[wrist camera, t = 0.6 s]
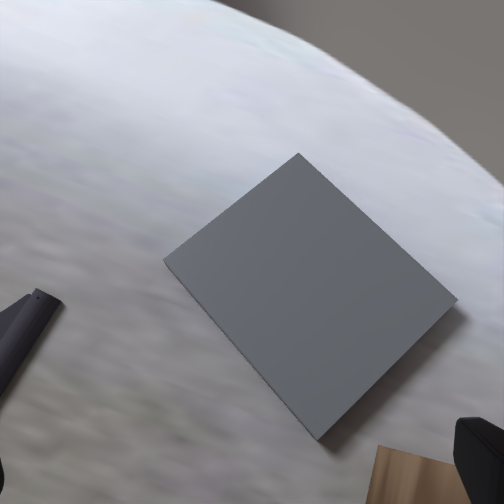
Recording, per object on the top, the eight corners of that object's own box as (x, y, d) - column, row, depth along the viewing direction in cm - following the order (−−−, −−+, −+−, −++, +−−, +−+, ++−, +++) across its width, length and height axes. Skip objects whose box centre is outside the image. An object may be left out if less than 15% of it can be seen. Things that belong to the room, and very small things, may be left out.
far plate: (449, 304, 26) (458, 299, 24) (314, 439, 23) (317, 440, 22) (297, 162, 29) (298, 152, 28) (166, 266, 27) (162, 259, 26)
